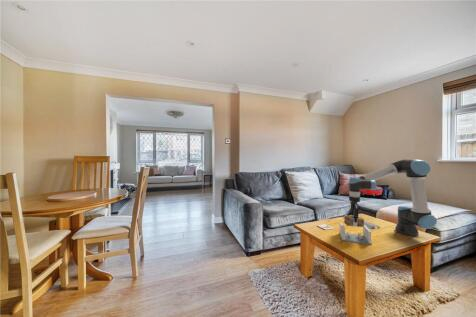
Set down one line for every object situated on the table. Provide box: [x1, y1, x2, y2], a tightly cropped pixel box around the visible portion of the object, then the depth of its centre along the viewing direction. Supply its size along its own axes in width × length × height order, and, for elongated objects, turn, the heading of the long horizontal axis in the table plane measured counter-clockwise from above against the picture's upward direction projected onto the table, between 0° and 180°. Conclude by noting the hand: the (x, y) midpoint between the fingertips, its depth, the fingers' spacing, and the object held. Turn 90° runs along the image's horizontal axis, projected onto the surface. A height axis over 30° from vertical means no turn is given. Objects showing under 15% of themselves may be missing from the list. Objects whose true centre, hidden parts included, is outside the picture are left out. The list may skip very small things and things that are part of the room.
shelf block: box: [343, 215, 365, 228], centre depth 149 cm, size 12×6×6 cm, turn 79°
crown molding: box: [342, 214, 381, 230], centre depth 184 cm, size 31×12×4 cm, turn 15°
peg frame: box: [338, 222, 373, 246], centre depth 149 cm, size 20×14×10 cm
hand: (354, 224), depth 149 cm, fingers closed on shelf block, 6 cm apart
